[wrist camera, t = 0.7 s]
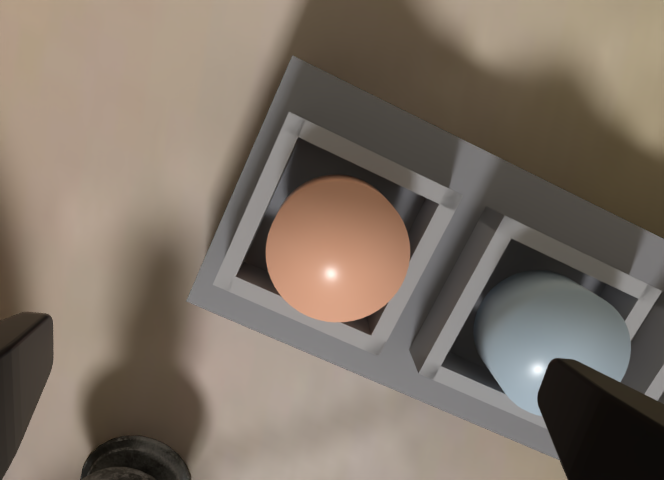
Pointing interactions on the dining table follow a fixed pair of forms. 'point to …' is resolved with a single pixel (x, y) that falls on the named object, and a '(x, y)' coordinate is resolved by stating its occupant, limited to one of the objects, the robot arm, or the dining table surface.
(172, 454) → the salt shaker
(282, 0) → the dining table surface
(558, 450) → the robot arm
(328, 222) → the terracotta button
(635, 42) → the dining table surface
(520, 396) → the slate button
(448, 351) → the button panel
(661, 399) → the cream button
